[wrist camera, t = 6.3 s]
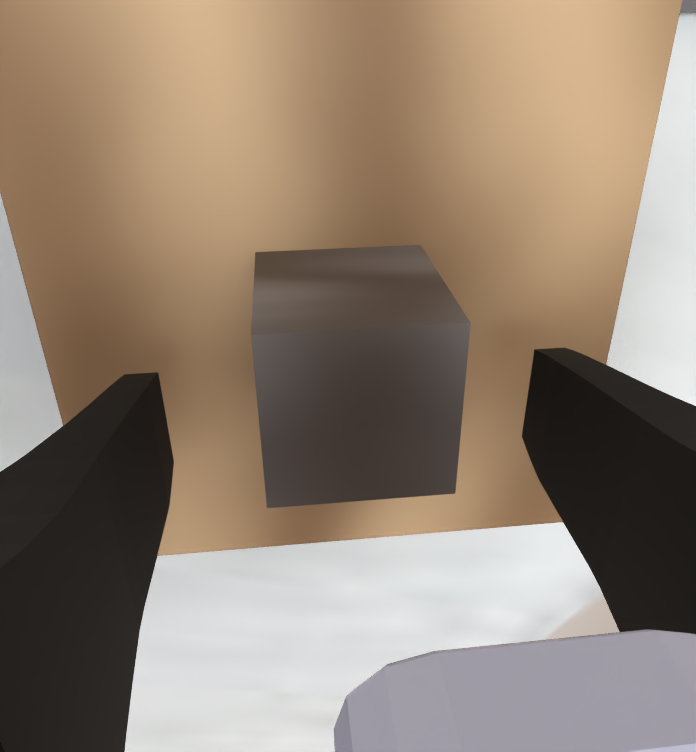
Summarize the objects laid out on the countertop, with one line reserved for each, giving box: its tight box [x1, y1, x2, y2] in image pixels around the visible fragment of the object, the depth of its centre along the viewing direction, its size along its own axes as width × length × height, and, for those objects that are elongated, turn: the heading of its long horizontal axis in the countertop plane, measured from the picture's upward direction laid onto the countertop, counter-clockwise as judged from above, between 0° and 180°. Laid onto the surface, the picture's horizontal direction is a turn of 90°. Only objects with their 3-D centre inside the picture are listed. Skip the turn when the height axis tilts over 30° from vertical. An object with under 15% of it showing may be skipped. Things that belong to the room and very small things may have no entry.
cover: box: [0, 0, 682, 556], centre depth 13 cm, size 13×13×5 cm
